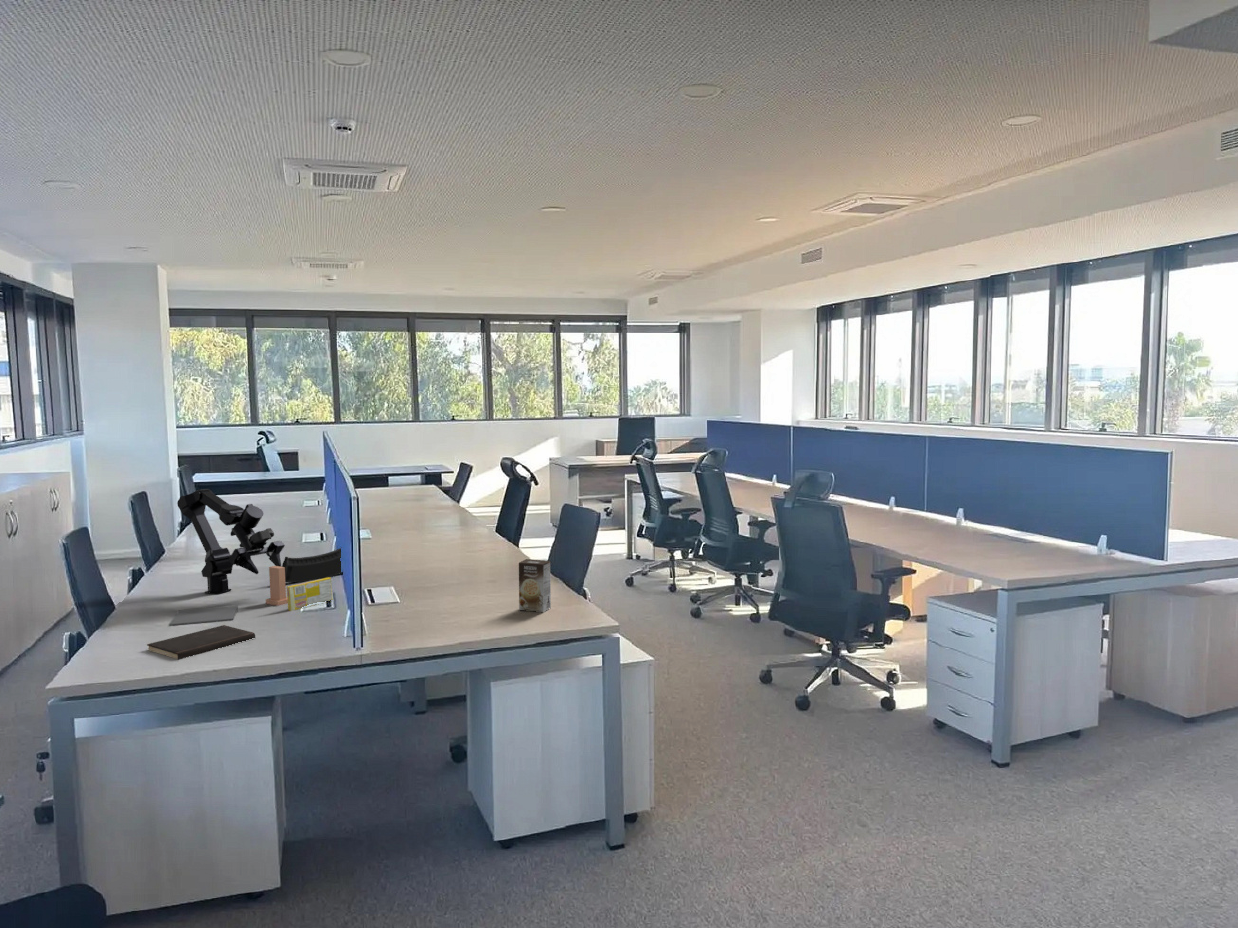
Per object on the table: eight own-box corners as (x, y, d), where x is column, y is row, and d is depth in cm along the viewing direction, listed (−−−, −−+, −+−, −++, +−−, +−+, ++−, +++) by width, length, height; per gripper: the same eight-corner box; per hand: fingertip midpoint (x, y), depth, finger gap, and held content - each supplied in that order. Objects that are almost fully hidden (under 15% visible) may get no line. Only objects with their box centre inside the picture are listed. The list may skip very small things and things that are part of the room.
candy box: (329, 600, 292) (328, 576, 291) (333, 601, 291) (332, 577, 290) (287, 610, 279) (286, 585, 278) (291, 611, 278) (290, 586, 277)
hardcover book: (147, 652, 236) (146, 644, 236) (224, 632, 256) (223, 624, 255) (178, 661, 228) (177, 653, 227) (255, 640, 247) (255, 632, 246)
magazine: (275, 563, 312) (345, 530, 332) (271, 562, 314) (340, 529, 334) (290, 604, 317) (357, 569, 337) (285, 602, 319) (353, 567, 339)
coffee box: (518, 610, 275) (517, 562, 273) (526, 606, 281) (525, 558, 279) (543, 612, 272) (542, 564, 270) (551, 608, 278) (551, 560, 276)
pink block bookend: (265, 603, 288) (264, 567, 287) (278, 600, 292) (277, 564, 291) (278, 605, 285) (276, 569, 284) (291, 602, 289) (289, 566, 288)
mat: (179, 611, 278) (179, 610, 278) (238, 606, 284) (238, 605, 284) (169, 625, 261) (169, 624, 261) (233, 619, 267) (233, 618, 267)
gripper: (232, 525, 283) (255, 560, 278) (279, 518, 299) (302, 551, 294) (219, 546, 288) (241, 581, 283) (266, 538, 304) (288, 571, 299)
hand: (269, 570), depth 290 cm, fingers open, 9 cm apart
